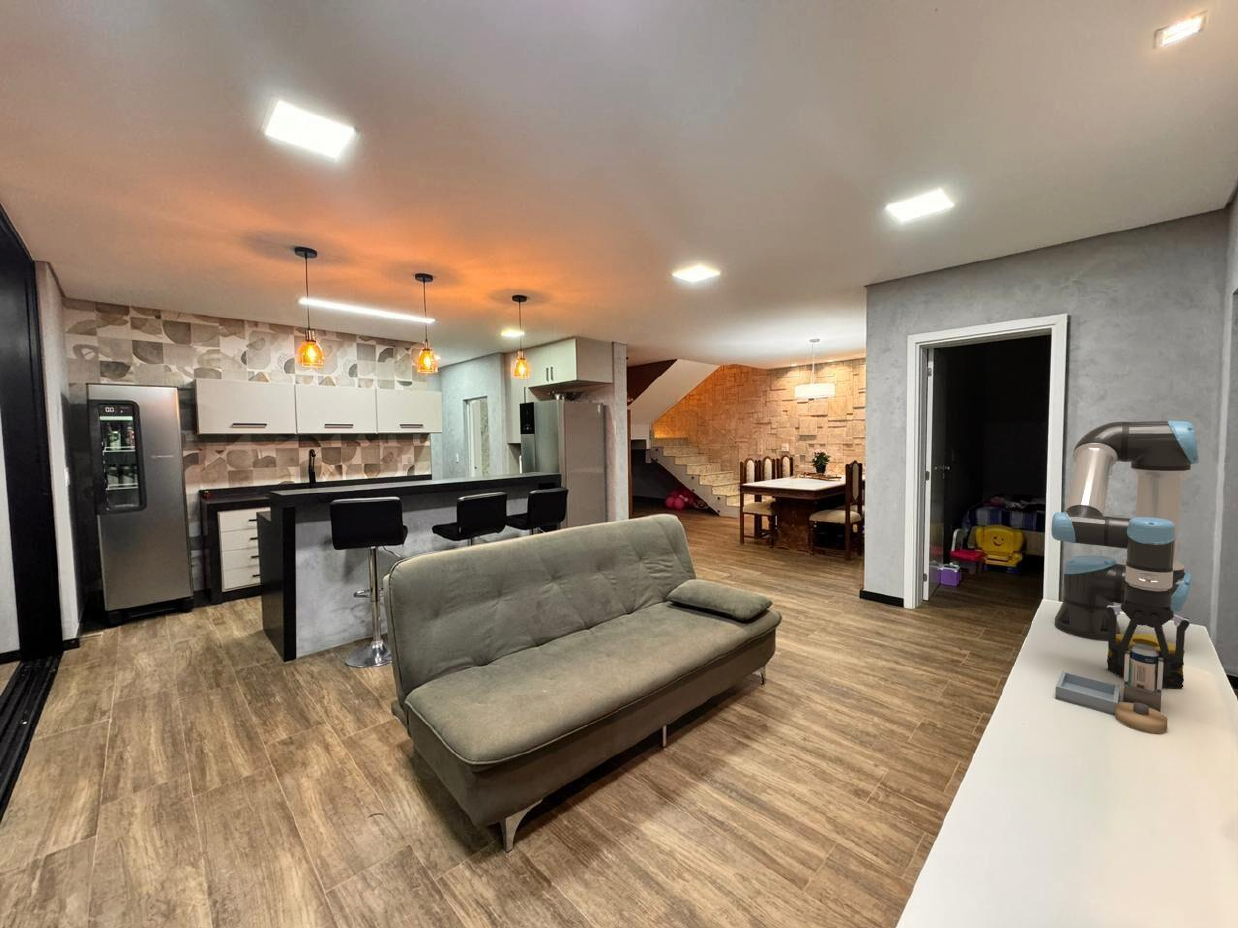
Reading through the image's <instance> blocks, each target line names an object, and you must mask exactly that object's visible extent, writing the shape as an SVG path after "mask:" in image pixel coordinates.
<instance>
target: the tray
mask: <svg viewBox="0 0 1238 928" xmlns="http://www.w3.org/2000/svg"><path fill="white" fill-rule="evenodd" d="M1120 695H1121V685H1120V684H1116V683H1114V682H1113V683H1112V682H1109V681H1105V680H1100V679H1095V678H1093V677H1088V676H1085V675H1081V674H1077V673H1073V672H1069V671H1064V670H1061V672H1060V674H1059V677H1058V680H1057V683H1056V685H1055V699H1056V700H1060V701H1063V702H1067V703H1070V704H1074V705H1077V706H1081V707H1085V708H1088V709H1091V710H1096V711H1098V712H1101V713H1106V714H1108V715H1109V714H1110V715H1112V716H1115V706H1116V705H1118V703H1120V697H1121V696H1120Z"/></svg>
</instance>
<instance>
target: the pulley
mask: <svg viewBox="0 0 1238 928" xmlns="http://www.w3.org/2000/svg"><path fill="white" fill-rule="evenodd" d="M1114 718H1115V719H1116V720H1117V721H1118V722H1119V723H1121V724H1122V725H1125V726H1126V727H1128V728H1131V729H1133V730H1137V731H1139V732H1142V733H1146V734H1147V733H1149V734H1154V735H1155V734H1156V735H1159V734H1162V735H1163V734H1166V733H1167V732H1168V717H1167V716H1166V715H1165V714H1164V713H1162V712H1161V713H1160V712H1159V711H1157V710H1154V709H1152V708H1149V706H1147V705H1145V704H1143V703H1138V702H1135V703H1127V702H1123V701H1121V702H1119V703H1118V705H1116V706H1115V715H1114Z"/></svg>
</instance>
